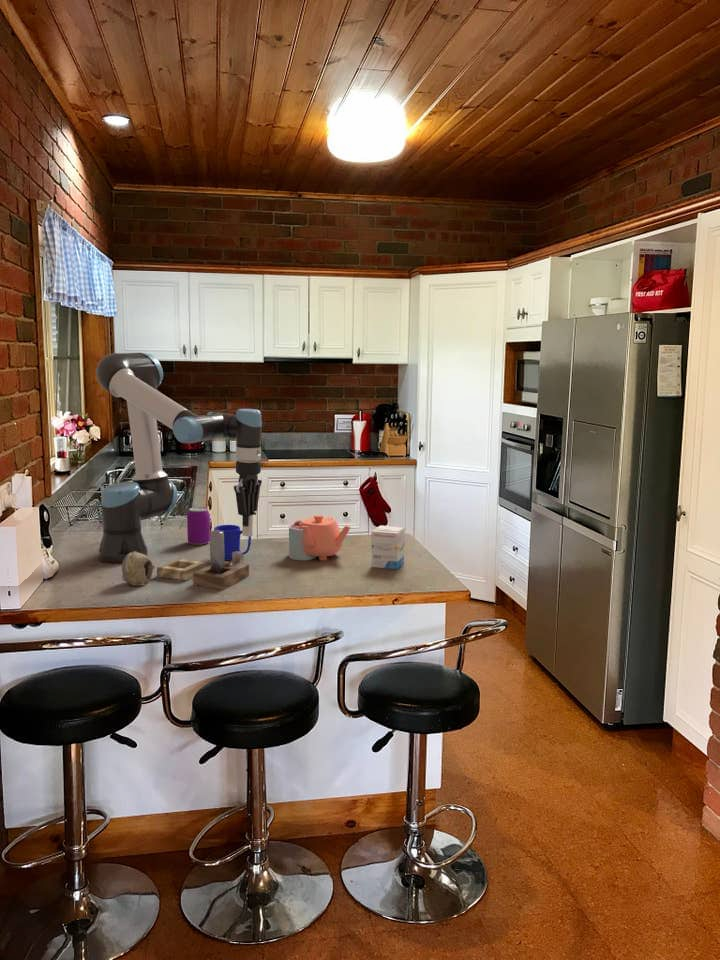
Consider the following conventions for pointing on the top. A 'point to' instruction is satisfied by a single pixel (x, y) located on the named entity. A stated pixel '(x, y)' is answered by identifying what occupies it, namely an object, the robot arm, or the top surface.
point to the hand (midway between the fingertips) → (247, 535)
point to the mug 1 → (231, 540)
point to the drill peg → (217, 552)
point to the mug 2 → (297, 544)
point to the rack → (180, 569)
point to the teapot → (322, 536)
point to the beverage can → (198, 526)
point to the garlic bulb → (137, 569)
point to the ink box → (388, 547)
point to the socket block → (221, 576)
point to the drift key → (237, 558)
